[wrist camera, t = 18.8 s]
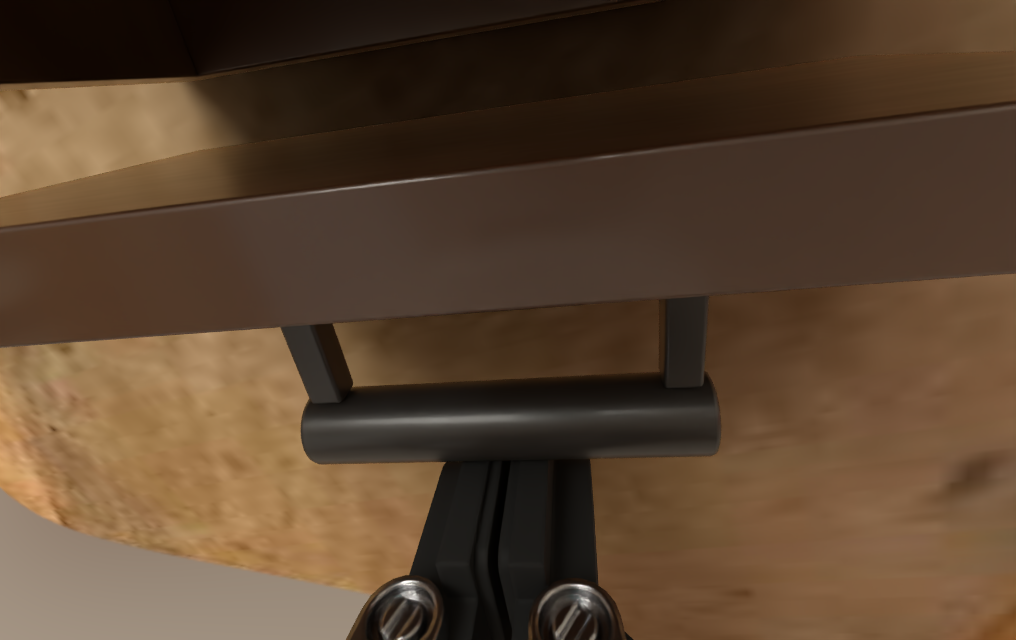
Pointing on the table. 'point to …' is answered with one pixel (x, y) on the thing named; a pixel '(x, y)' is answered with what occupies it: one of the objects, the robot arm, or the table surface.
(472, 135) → the drawer
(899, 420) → the table surface
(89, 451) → the table surface
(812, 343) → the table surface
